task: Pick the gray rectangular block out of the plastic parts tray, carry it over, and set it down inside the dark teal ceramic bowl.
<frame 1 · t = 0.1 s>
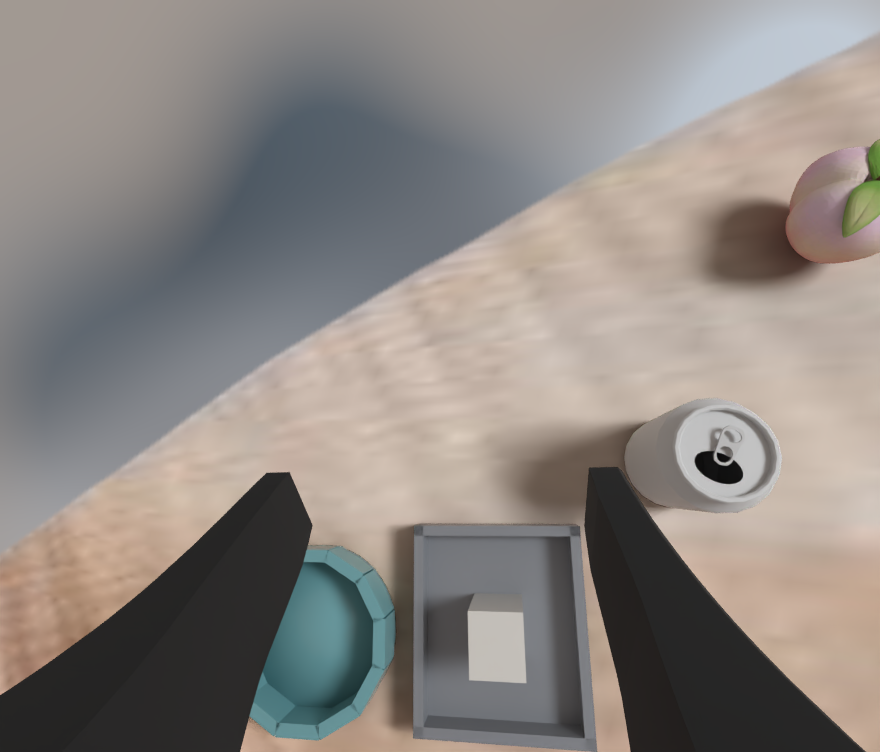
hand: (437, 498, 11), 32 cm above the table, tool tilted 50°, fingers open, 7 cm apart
gray rectangular block: (499, 622, 39), resting on parts tray
parts tray: (499, 621, 39), on the table
decorative fruit: (810, 240, 43), on the table
can: (666, 462, 40), on the table
bowl: (320, 627, 41), on the table
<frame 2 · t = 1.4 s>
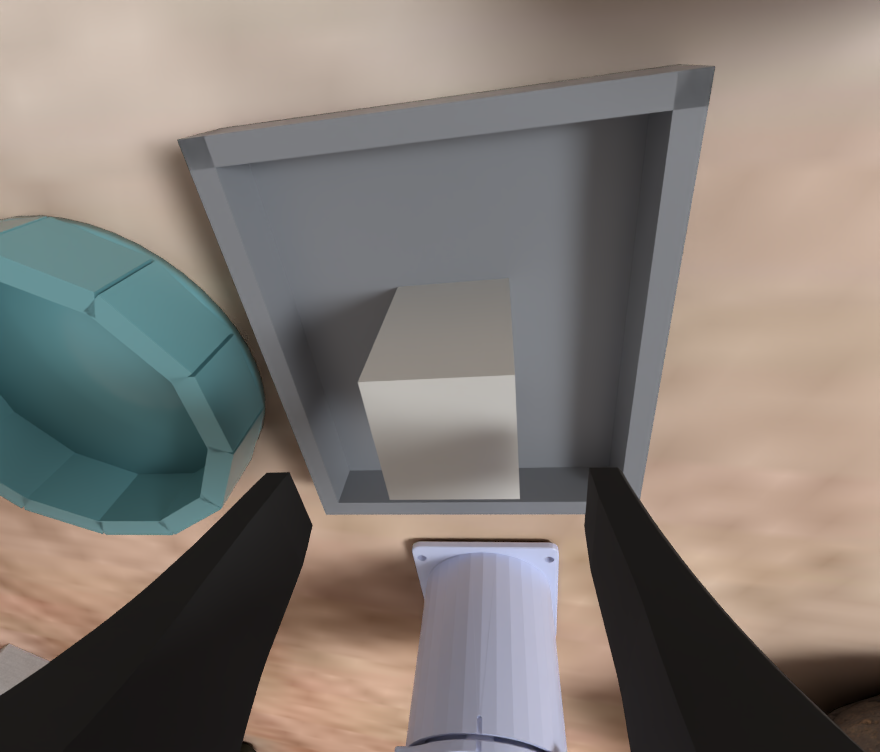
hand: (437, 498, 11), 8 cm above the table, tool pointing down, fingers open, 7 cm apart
gray rectangular block: (458, 337, 18), resting on parts tray
parts tray: (459, 330, 18), on the table
bowl: (114, 371, 21), on the table
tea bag: (41, 662, 42), on the table
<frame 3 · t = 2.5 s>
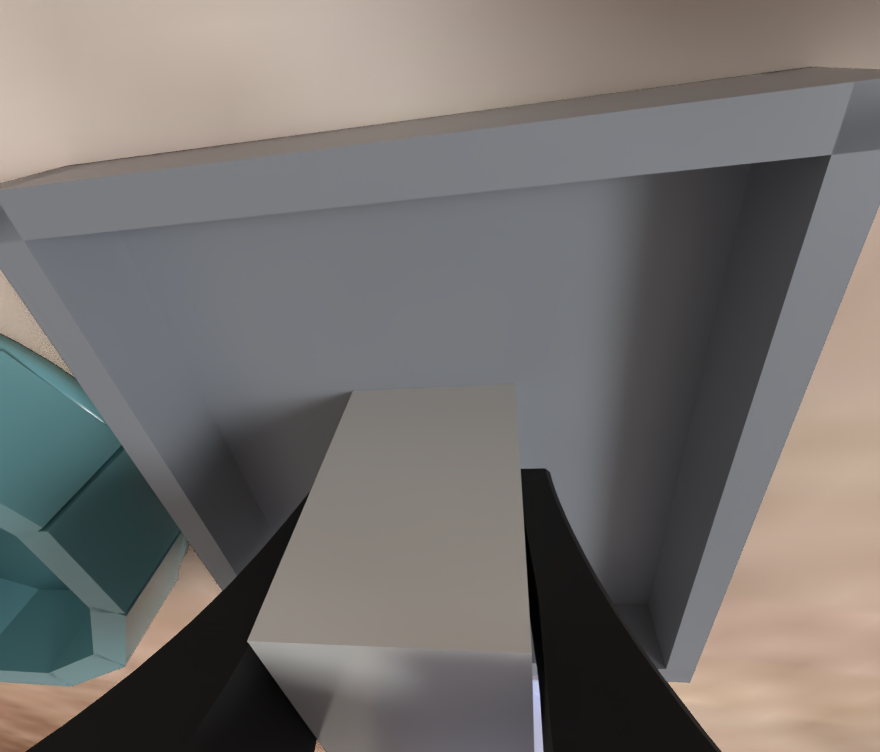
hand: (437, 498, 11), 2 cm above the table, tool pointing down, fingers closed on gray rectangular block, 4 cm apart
gray rectangular block: (443, 454, 12), resting on parts tray, touching gripper
parts tray: (444, 442, 13), on the table
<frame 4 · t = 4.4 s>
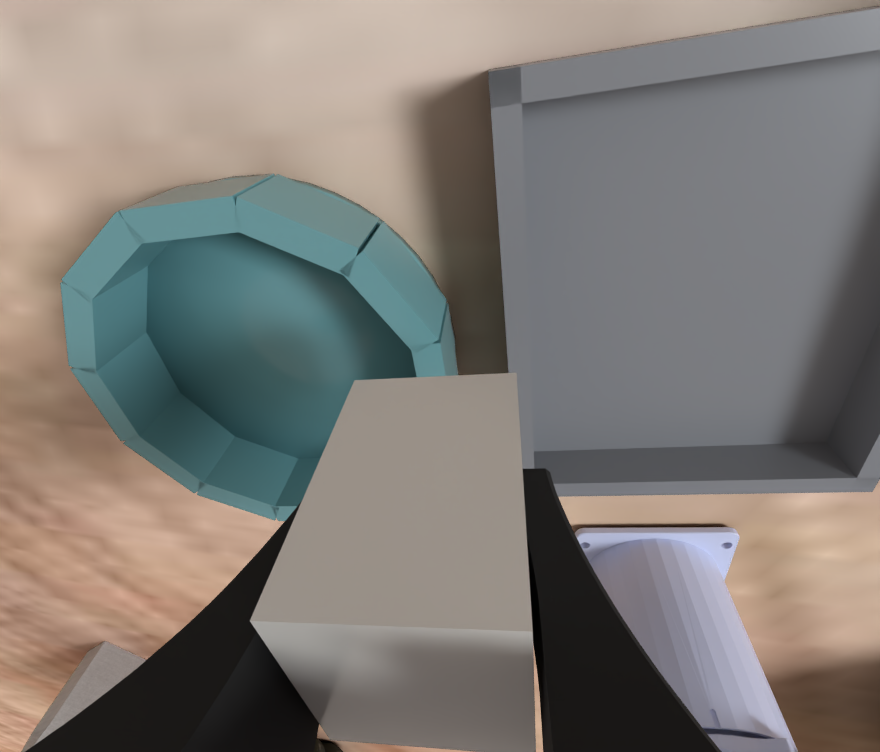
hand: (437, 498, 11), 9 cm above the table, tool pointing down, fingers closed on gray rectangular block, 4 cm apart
gray rectangular block: (444, 444, 12), point 7 cm above the table, touching gripper
parts tray: (695, 294, 17), on the table
bowl: (295, 347, 20), on the table
squash: (295, 740, 49), on the table
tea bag: (133, 659, 42), on the table
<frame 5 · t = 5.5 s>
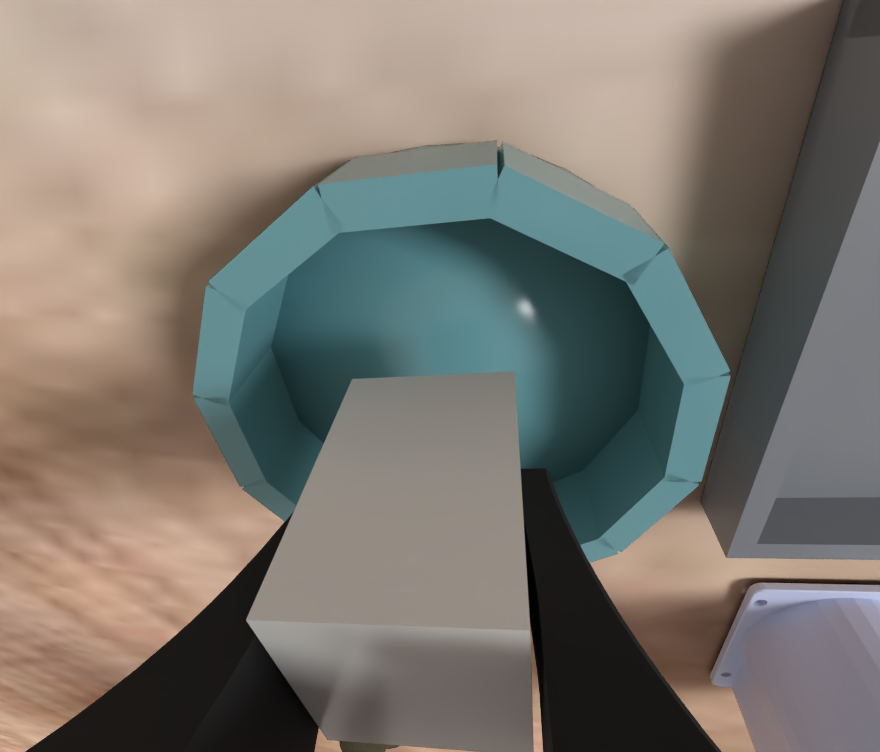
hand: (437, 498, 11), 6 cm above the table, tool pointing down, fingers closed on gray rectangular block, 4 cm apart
gray rectangular block: (442, 443, 12), point 4 cm above the table, touching gripper
bowl: (455, 368, 16), on the table
candlestick holder: (371, 697, 33), on the table
when the fingers open (4 cm above the table, at t = 6.3 s): gray rectangular block drops 1 cm, resting on bowl.
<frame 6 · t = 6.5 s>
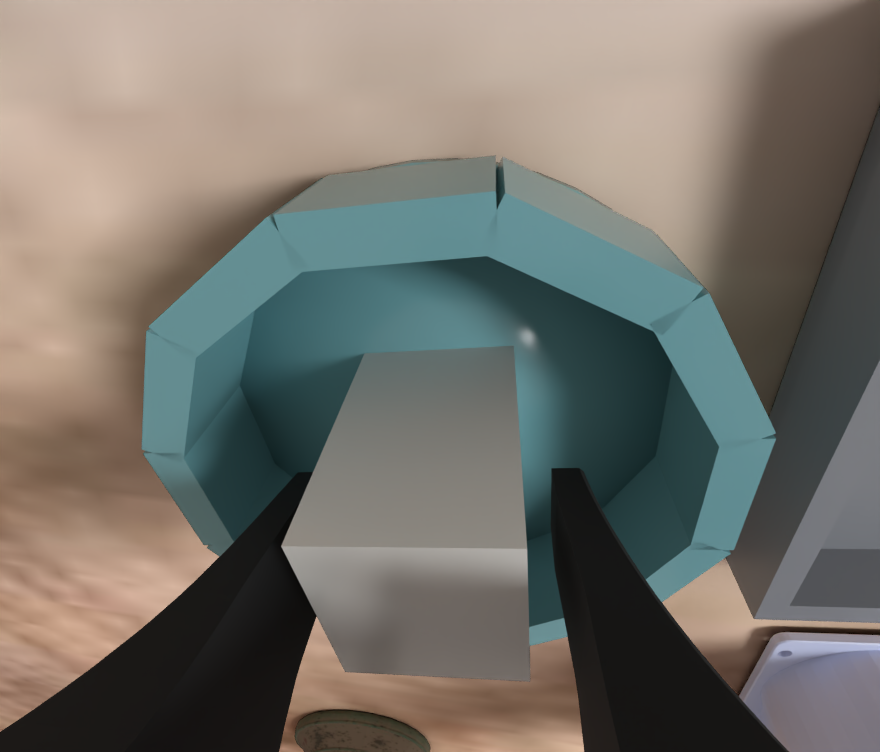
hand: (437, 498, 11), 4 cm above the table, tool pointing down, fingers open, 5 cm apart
gray rectangular block: (446, 415, 13), point 1 cm above the table, touching bowl
bowl: (449, 408, 14), on the table
candlestick holder: (364, 734, 31), on the table
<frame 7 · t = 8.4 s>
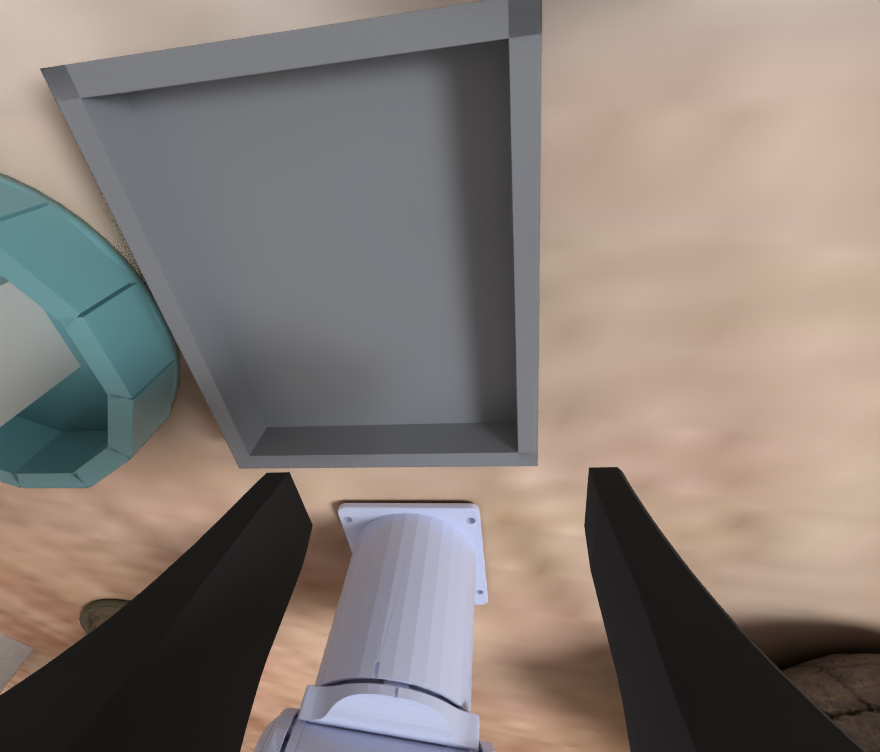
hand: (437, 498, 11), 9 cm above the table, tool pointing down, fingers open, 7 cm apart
gray rectangular block: (14, 326, 21), point 1 cm above the table, touching bowl
parts tray: (357, 280, 18), on the table
bowl: (28, 324, 21), on the table
candlestick holder: (142, 626, 38), on the table
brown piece: (837, 678, 32), on the table
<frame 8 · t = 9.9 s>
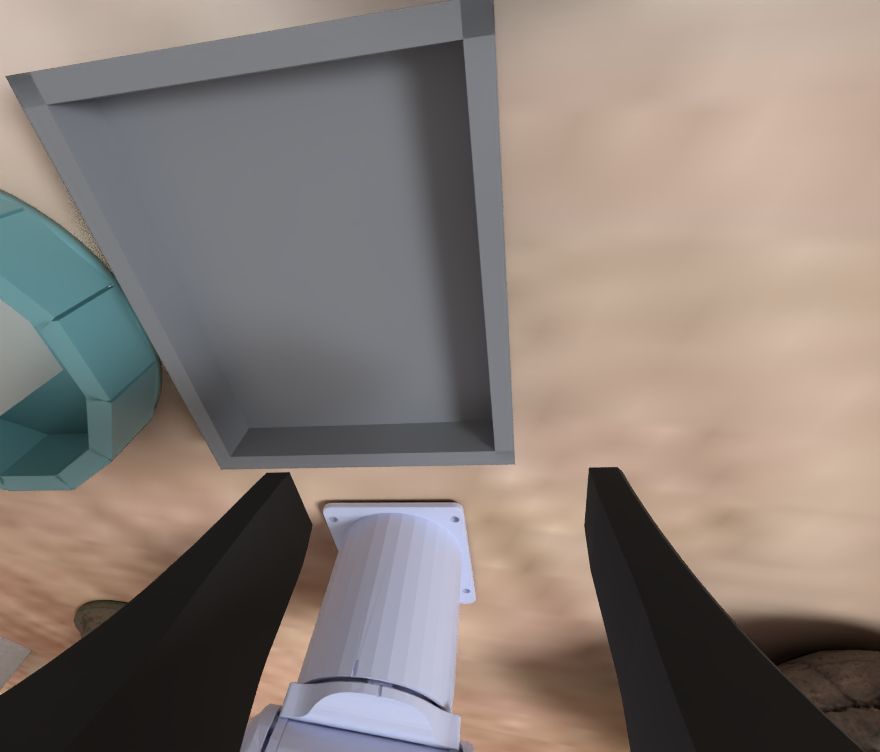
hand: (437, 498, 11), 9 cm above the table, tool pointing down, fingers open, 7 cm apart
parts tray: (332, 281, 19), on the table
bowl: (10, 328, 21), on the table
candlestick holder: (136, 627, 39), on the table
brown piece: (829, 675, 32), on the table
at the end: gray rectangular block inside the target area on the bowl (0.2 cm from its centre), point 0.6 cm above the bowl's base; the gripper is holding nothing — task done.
